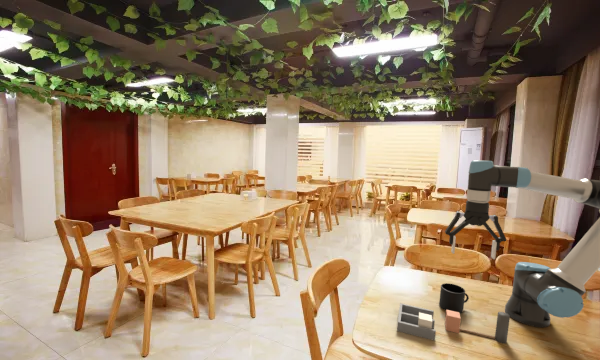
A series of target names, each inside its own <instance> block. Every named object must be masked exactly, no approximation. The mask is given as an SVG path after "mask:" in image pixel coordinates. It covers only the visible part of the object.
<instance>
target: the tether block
mask: <svg viewBox="0 0 600 360" xmlns="http://www.w3.org/2000/svg"><path fill="white" fill-rule="evenodd" d="M510 320H511V317H510V315H509V314H507V313H506V312H505V311H504V312H503V311H498V312H497V318H496V325H495V334H494V335H491V334H487V333H482V332H479V331H475V330H470V329H465V328H462V327H460V326H461V321H462V318H461V313H459V312H455V311H451V310H445V319H444V325H445V331H447V332H453V333H456V334H460V332H464V333H469V334H471V335H472V334H473V335H477V336H480V337H485V338H489V339H492V340H495V341H496V342H497V343H500V344H507V342H508V334H509V326H510Z"/></svg>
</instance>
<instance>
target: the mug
mask: <svg viewBox="0 0 600 360" xmlns="http://www.w3.org/2000/svg"><path fill="white" fill-rule="evenodd" d="M469 299H470V297H469V295H468V294H467V293H466V290H465V288H463V287H462V286H460V285H458V284H455V283H449V282H447V283H446V282H445V283H442V284H440V293H439V302H438V303H439V304H438V305H439V307H440V308H441V309H442V310H444V311H446V310H451V311H455V312H459V314H461V313H463V312H464V307H465V303H467V302H468V301H469Z"/></svg>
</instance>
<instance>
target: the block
mask: <svg viewBox="0 0 600 360" xmlns="http://www.w3.org/2000/svg"><path fill="white" fill-rule="evenodd" d="M418 326H422V327H426V328H430V329H432V315H429V314H424V313H420V312H419V318H418Z"/></svg>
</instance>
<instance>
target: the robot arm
mask: <svg viewBox="0 0 600 360" xmlns="http://www.w3.org/2000/svg"><path fill="white" fill-rule="evenodd" d="M469 164H470V165H469V168H468V180H467V192H466V199H467V200H466V202H465V210H464V212H460V211H458V210H457V211H456V212H455V216H454V217H453V219H452V220H451V222H450V223H449V224H448V226H447V227H446V229H445V230H444V233H445V235H446V236H449V238H448V239H449V241H448V242H449V245H451V250H450V251H451V254H455V251H456V240H457V239H456V238H457V237H456V235H457V234H458V233H460V232H461V231H462V230H463V229H464V228H465V227H467V226H469V225H471V226H478V227H481V226H483V227H484V228H485V229H486V230H487V232H489V234H490V235H491V237H493V239H494V240H493V239H492V242H491V252H490V258H491V259H493V260H495V259H496V255H497V251H499V250H500V246H501V243H502V242H507V238H506V235H505V233H504V231H503V228H502V227H501V224H500V223H499V216H498V215H496V214H493V215H489V209H490V203H489V202H490V201H491V191H492V187H502V188H515V189H522V190H526V191H530V192H535V193H541V194H546V195H551V196H556V197H560V198H561V197H562V198H567V199H571V200H573V202H576V203H578V204H583V205H587V206H590V207H594V208H597V209H598V212H599V213H600V180H597V179H596V180H595V179H588V178H582V179H573V178H568V177H565V176H558V175H551V174H548V173H547V174H546V173H540V172H537V171H536V172H535V171H531V170H530V169H529V168H528V167H524V166H523V167H522V166H521V167H520V166H509V165H508V166H507V165H498V164H494V161H492V160H477V159H476V160H475V159H474V160H472V161H470V163H469ZM462 217H463V218H464V220H463V221H462V222H461V223H459V224H458V225H457V222H459V220H460V219H461V218H462ZM489 220H491V222H492V223H493V225H494V227H495V229H496V231H497V234H498V235H497V234H496V232H495V231H494V230H493V229H492V228H491V227H490V225H489V224H488V223H487V222H488V221H489ZM456 225H457V226H456ZM455 226H456V227H455ZM454 227H455V228H454ZM498 236H499V237H498ZM599 268H600V217H598V218H597V220H596V221H595V222H594V223H593V224H592V225H591V227H590V228H589V229H588V230H587V232H586V233H584V235H583V236H582V238H581V239H580V240H579V241H578V242H577V244H576V245H575V246H574V247H573V248H572V249H571V250H570V251H569V253H568V254H567V255H566V256H565V258H563V259H562V261H561V262H560V263H559V264H558V266H556V267H554V268H551V267H549V266H547V265H544V264H539V263H536V262H527V261H519V262H516V263H515V267H514V275H513V282H512V292H511V295H510V297H509V298H508V299H507V302H506V303H505V306H504V313H507V314H509V315H510V319H513V320H515V321H517V322H519V323H521V324H524V325H527V326H530V327H535V328H548V327H550V325H551V316H553V317H557V318H562V319H564V318H572V317H575V316H577V315H579V313H581V311H582V310H583V309H584V300H583V299H584V298H583V295H584V294H585V293H586V292H587V291H586V288H585V284H586V283H587V282H588V281H589V280H590V279H591V278H592V277H593V275H594V274H595V273H596V272H597V271H598V270H599ZM550 315H551V316H550Z"/></svg>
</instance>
